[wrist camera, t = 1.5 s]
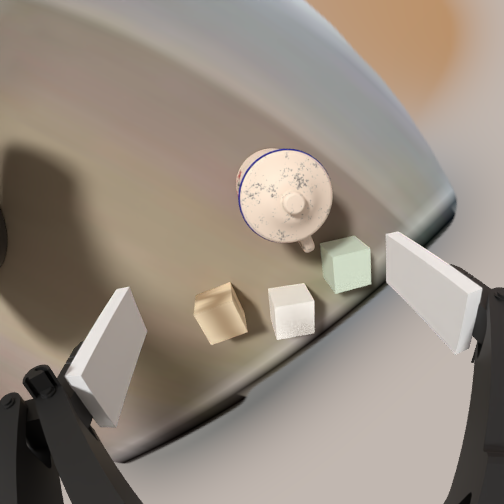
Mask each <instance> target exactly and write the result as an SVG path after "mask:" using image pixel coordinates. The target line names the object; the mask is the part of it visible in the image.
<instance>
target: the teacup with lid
mask: <svg viewBox="0 0 504 504" xmlns="http://www.w3.org/2000/svg"><path fill="white" fill-rule="evenodd" d="M236 190H237V195H238V200H239V207H240V211H241V214H242V216H243V218H244V220H245V222H246V223H247V225H248V226H249V227H250V228H251V229H252V230H253V231H254V232H255V233H256V234H257V235H259V236H261V237H262V238H264V239H267V240H269V241H273V242H278V243H291V242H297V241H298V243H299V244H300V246H301V247H302V249H303V250H304V251H305V252H306V253H308V252H310V251H312V250H314V247H315V246H314V242H313V240H312V237H311V235H312V234H313V233H315V232H316V231H317V230H318V229H319V228H320V227H321V226H322V225H323V223H324V222H325V220H326V219H327V217H328V215H329V212H330V209H331V206H332V200H333V191H332V184H331V181H330V178H329V175H328V173H327V172H326V170H325V168H324V167H323V166H322V164H321V163H320V162H319V161H318V160H316V159H315V158H314V157H312V156H311V155H309V154H307V153H305V152H303V151H299V150H295V149H274V148H270V149H264V150H260V151H258V152H256V153H254V154H252V155H251V156H250V157H248V158H247V159H246V160H245V161H244V163H243V164H242V166H241V167H240V169H239V172H238V175H237V179H236Z"/></svg>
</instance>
